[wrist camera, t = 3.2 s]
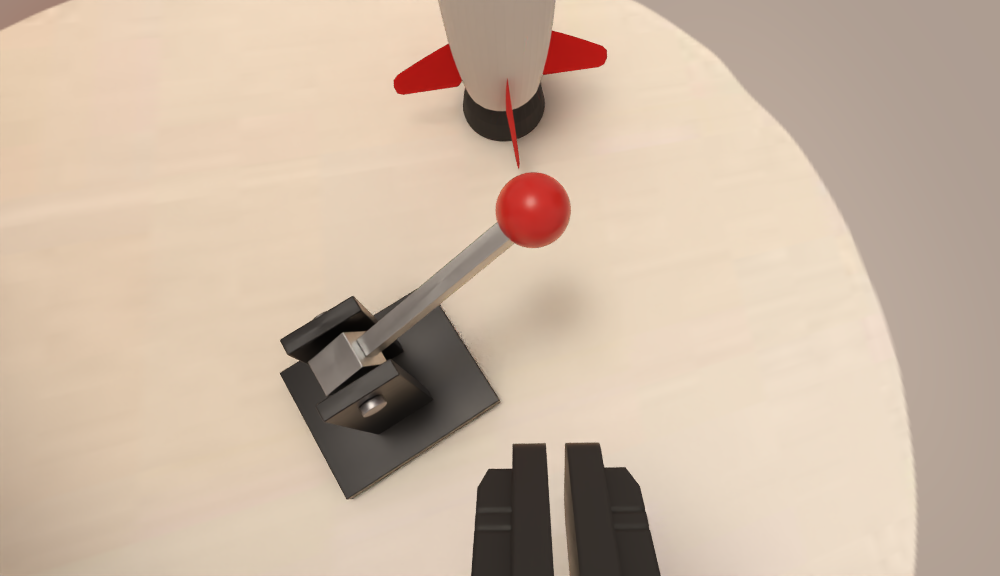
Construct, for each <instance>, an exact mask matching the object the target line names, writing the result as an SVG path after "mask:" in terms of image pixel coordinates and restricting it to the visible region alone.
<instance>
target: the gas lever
mask: <svg viewBox="0 0 1000 576" xmlns="http://www.w3.org/2000/svg"><path fill="white" fill-rule="evenodd" d="M570 214H571V206H570V201H569V197H568V195H567V193H566V191H565V189H564V188H563V186H562V185H561V184H560V183H559V182H558V181H557V180H555V179H554V178H552V177H550V176H548V175H546V174H542V173H535V172H531V173H525V174H521V175H519V176H516V177H515V178H513V179H512V180H510V181H509V182H508V183H507V184H506V185H505V186H504V187H503V189H502V190H501V192H500V194H499V196H498V199H497V203H496V218H497V223H496V224H494V225H493V226H492V227H491V228H490V229H488V230H487V231H486V232H485V233H484V234H482V235H481V236H480V237H479V238H478V239H476V240H475V241H474V242H473V243H472V244H470V245H469V246H468V247H467V248H466V249H464V250H463V251H462V252H461V253H460V254H458V255H457V256H456V257H455V258H454V259H452V260H451V261H450V262H449V263H448V264H446V265H445V266H444V267H443V268H442V269H441V270H439V271H438V272H437V273H436V274H435V275H433V276H432V277H431V278H430V279H429V280H427V281H426V282H425V283H424V284H423V285H421V286H420V287H419V288H418V289H417V290H415V291H414V292H413V293H412V294H411V295H409V296H408V297H407V298H406V299H405V300H403V301H402V302H401V303H400V304H399V305H397V306H396V307H395V308H394V309H393V310H391V311H390V312H389V313H388V314H387V315H385V316H384V317H383V318H382V319H381V320H379V321H378V322H377V323H376V324H375V325H373V326H372V327H371V328H370V329H369V330H368V331H359V332H342V333H341V334H340V335H339V336H338V337H336V338H335V339H334V340H333V341H332V342H331V343H329V344H328V345H327V346H326V347H325V348H324V349H322V350H321V351H320V352H319V353H318V354H316V355H315V356H314V357H313V358H312V359H311V360H309V361H308V363H309V365H310V367H311V369H312V371H313V372H314V374H315V376H316V378H317V380H318V381H319V383H320V385H321V387H322V389H323V391H324V392H325V394H326V396H330V395H332V394H334V393H336V392H337V391H339V390H340V389H342V388H344V387H345V386H347V385H348V384H350V383H352V382H353V381H355V380H356V379H358V378H360V377H361V376H363V375H364V374H366V373H368V372H369V371H371V370H372V369H374V368H376V367H377V366H379V365H380V364H382V363H384V362H385V361H386V359H385V357H384V356H383V354H382V351H383V350H384V349H385V348H387V347H388V346H389V345H390V344H392V343H393V342H394V341H395V340H396V339H398V338H399V337H400V336H401V335H403V334H404V333H405V332H406V331H408V330H409V329H410V328H411V327H412V326H414V325H415V324H416V323H417V322H419V321H420V320H421V319H422V318H423V317H425V316H426V315H427V314H428V313H430V312H431V311H432V310H433V309H435V308H436V307H437V306H438V305H439V304H441V303H442V302H443V301H444V300H446V299H447V298H448V297H449V296H451V295H452V294H453V293H454V292H455V291H457V290H458V289H459V288H460V287H462V286H463V285H464V284H465V283H466V282H468V281H469V280H470V279H471V278H473V277H474V276H475V275H476V274H478V273H479V272H480V271H481V270H482V269H484V268H485V267H486V266H487V265H489V264H490V263H491V262H492V261H494V260H495V259H496V258H497V257H498V256H500V255H501V254H502V253H503V252H505V251H506V250H507V249H508V248H509V247H511V246H512V245H513V244H514V243H515V244H517V245H520V246H522V247H527V248H539V247H543V246H546V245H549V244H551V243H553V242H554V241H555V240H557V239H558V238H559V237H560V236H561V235H562V234H563V232H564V231H565V229H566V227H567V225H568V223H569V219H570Z"/></svg>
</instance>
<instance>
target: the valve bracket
mask: <svg viewBox="0 0 1000 576" xmlns="http://www.w3.org/2000/svg"><path fill="white" fill-rule="evenodd" d="M417 289H418V288H417ZM417 289H416V290H417ZM414 291H415V290H414ZM414 291H413V292H414ZM413 292H411V293H409V294H408V295H406V296H404V297H403V298H401V299H400V300H398V301H396V302H395V303H393V304H391V305H390V306H388V307H387V308H385V309H383V310H382V311H380V312H378V313H377V314H375V315H374V316H373V315H372V314H371V313H370V312H369V311H368V310H367V309H366V308H365V307H364V306H363V305H362V304H361V303H360V302H359V301H358V300H357V299H356V298H355V297H354V296H351V297H350V298H348V299H347V300H345V301H343V302H342V303H340V304H338V305H337V306H335V307H333V308H332V309H330V310H328V311H326V312H323V313H321V314H319V315H318V316H316V317H315V318H314V319H313V320H312V321H310V322H309V323H307V324H305V325H304V326H302V327H300V328H299V329H297V330H295V331H294V332H292V333H291V334H289V335H287V336H286V337H284V338H282V339H281V340H280V342H281V343H282V345H283V347H284V349H285V351H286V353H287V355H289V356H291V357H293V358H295V359H297V360H299V362H297V363H295V364H294V365H292V366H291V367H289V368H287V369H286V370H284V371H282V372H281V373H280V375H281V377H282V378H283V380H284V382H285V384H286V386H287V388H288V390H289V392H290V393H291V395H292V397H293V399H294V401H295V403H296V405H297V407H298V409H299V410H300V412H301V414H302V416H303V418H304V420H305V422H306V424H307V425H308V427H309V429H310V431H311V433H312V435H313V437H314V439H315V441H316V442H317V444H318V446H319V448H320V450H321V452H322V454H323V456H324V458H325V459H326V461H327V463H328V465H329V467H330V469H331V471H332V473H333V474H334V476H335V478H336V480H337V482H338V484H339V486H340V488H341V490H342V491H343V493H344V495H345V497H346V499H352V498H354V497H355V496H357V495H358V494H360V493H361V492H363V491H365V490H366V489H368V488H369V487H371V486H372V485H374V484H375V483H377V482H378V481H380V480H381V479H383V478H384V477H386V476H388V475H389V474H391V473H392V472H394V471H395V470H397V469H398V468H400V467H401V466H403V465H404V464H406V463H407V462H409V461H411V460H412V459H414V458H415V457H417V456H418V455H420V454H421V453H423V452H424V451H426V450H427V449H429V448H430V447H432V446H434V445H435V444H437V443H438V442H440V441H441V440H443V439H444V438H446V437H447V436H449V435H450V434H452V433H453V432H455V431H457V430H458V429H460V428H461V427H463V426H464V425H466V424H467V423H469V422H470V421H472V420H473V419H475V418H476V417H478V416H480V415H481V414H483V413H484V412H486V411H487V410H489V409H490V408H492V407H493V406H495V405H496V404H498V403H499V402H500V400H499V398H498V397H497V395H496V394H495V392H494V390H493V389H492V387H491V386H490V384H489V383H488V381H487V379H486V378H485V376H484V375H483V373H482V372H481V370H480V368H479V367H478V365H477V364H476V362H475V360H474V359H473V357H472V356H471V354H470V353H469V351H468V349H467V348H466V346H465V345H464V343H463V342H462V340H461V338H460V337H459V335H458V334H457V332H456V330H455V329H454V327H453V326H452V324H451V323H450V321H449V319H448V318H447V316H446V315H445V313H444V312H443V310H442V308H441V307H440V305H438V306H437V307H436V308H435V309H433V310H432V311H431V312H430V313H428V314H427V315H426V316H425V317H423V318H422V319H421V320H420V321H419V322H417V323H416V324H415V325H414V326H412V327H411V328H410V329H409V330H408V331H406V332H405V333H404V334H403V335H401V336H400V337H399V338H398V339H396V340H395V341H394V342H393V343H392V344H390V345H389V346H388V347H387V348H385V349H384V350H383V351H382V354H383V356H384V357H385V359H386V361H385V362H384V363H382V364H380V365H379V366H377V367H376V368H374V369H372V370H371V371H369V372H368V373H366V374H364V375H363V376H361V377H360V378H358V379H356V380H355V381H353V382H352V383H350V384H348V385H347V386H345V387H344V388H342V389H340V390H339V391H337V392H336V393H334V394H332V395H330V396H326V394H325V392H324V391H323V389H322V387H321V385H320V383H319V381H318V380H317V378H316V376H315V374H314V372H313V371H312V369H311V367H310V365H309V363H308V361H309V360H311V359H312V358H313V357H314V356H315V355H316V354H318V353H319V352H320V351H321V350H322V349H324V348H325V347H326V346H327V345H328V344H329V343H331V342H332V341H333V340H334V339H335V338H336V337H338V336H339V335H340V334H341V333H342V332H359V331H368V330H369V329H370V328H371V327H372V326H373V325H375V324H376V323H377V322H378V321H379V320H381V319H382V318H383V317H384V316H385V315H387V314H388V313H389V312H390V311H391V310H393V309H394V308H395V307H396V306H397V305H399V304H400V303H401V302H402V301H403V300H405V299H406V298H407V297H408V296H409V295H411V294H412V293H413Z"/></svg>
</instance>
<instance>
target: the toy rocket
mask: <svg viewBox="0 0 1000 576" xmlns="http://www.w3.org/2000/svg"><path fill="white" fill-rule="evenodd" d="M438 1H439V6H440V11H441V15H442V19H443V23H444V27H445V31H446V35H447V39H448V42H449V44H447V45H445V46H444V47H442V48H440V49H438V50H437V51H435V52H433V53H432V54H430V55H428V56H427V57H425V58H423V59H422V60H420V61H418V62H417V63H415V64H414V65H412V66H411V67H409V68H408V69H406V70H404V71H403V72H401V73H400V74H398V75H397V77H396V78H395V79H394V88H395V90H396V92H397V93H398V94H403V95H404V94H411V93H417V92H424V91H431V90H437V89H444V88H451V87H457V86H459V85H460V83H461V82H462V81H463V84H464V86H465V91H464V101H463V111H464V115H465V117H466V120H467V122H468V123H469V125H470V126H471V127H472V128H473V129H474V130H475V131H476V132H477V133H478V134H480V135H482V136H484V137H486V138H488V139H492V140H497V141H509V140H512V142H513V147H514V152H515V157H516V162H517V166H518V168H519V164H520V163H519V153H518V145H517V139H518V138H520V137H523V136H524V135H526V134H528V133H529V132H531V131H532V130H533V129H534V128H535V127H536V126H537V124H538V123H539V121H540V120H541V118H542V115H543V112H544V105H545V102H544V96H543V92H542V87H541V83H540V81H541V77H542V74H543V75H546V74H553V73H560V72H567V71H574V70H581V69H588V68H595V67H599V66H601V65H603V64H604V63H605V61H606V59H607V50H606V49H605V48H604V47H603V46H601V45H598V44H595V43H592V42H589V41H586V40H583V39H580V38H577V37H573V36H570V35H567V34H563V33H559V32H555V31H552V25H553V18H554V9H555V0H438Z"/></svg>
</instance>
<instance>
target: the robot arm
mask: <svg viewBox="0 0 1000 576" xmlns="http://www.w3.org/2000/svg"><path fill="white" fill-rule="evenodd" d="M564 507H565V525H566V536H567V548H568V559H569V571H570V576H661V575H660V571H659V566H658V562H657V558H656V554H655V549H654V545H653V541H652V536H651V532H650V530H649V524H648V519H647V515H646V512H645V506H644V502H643V498H642V494H641V489H640V486H639V484H638V483H637V482H636V481H635V479H634V478H633V477H632V475H631V474H630V473H629V471H628V470H627V469H626V467H616V468H604V465H603V459H602V453H601V447H600V444H599V443H565V478H564ZM471 576H554V569H553V553H552V537H551V520H550V504H549V488H548V471H547V455H546V443H537V444H513V461H512V469H488V471H487V473H486V474H485V476H484V478H483V479H482V481H481V483H480V484H479V486H478V489H477V502H476V516H475V531H474V544H473V558H472V572H471Z"/></svg>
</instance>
